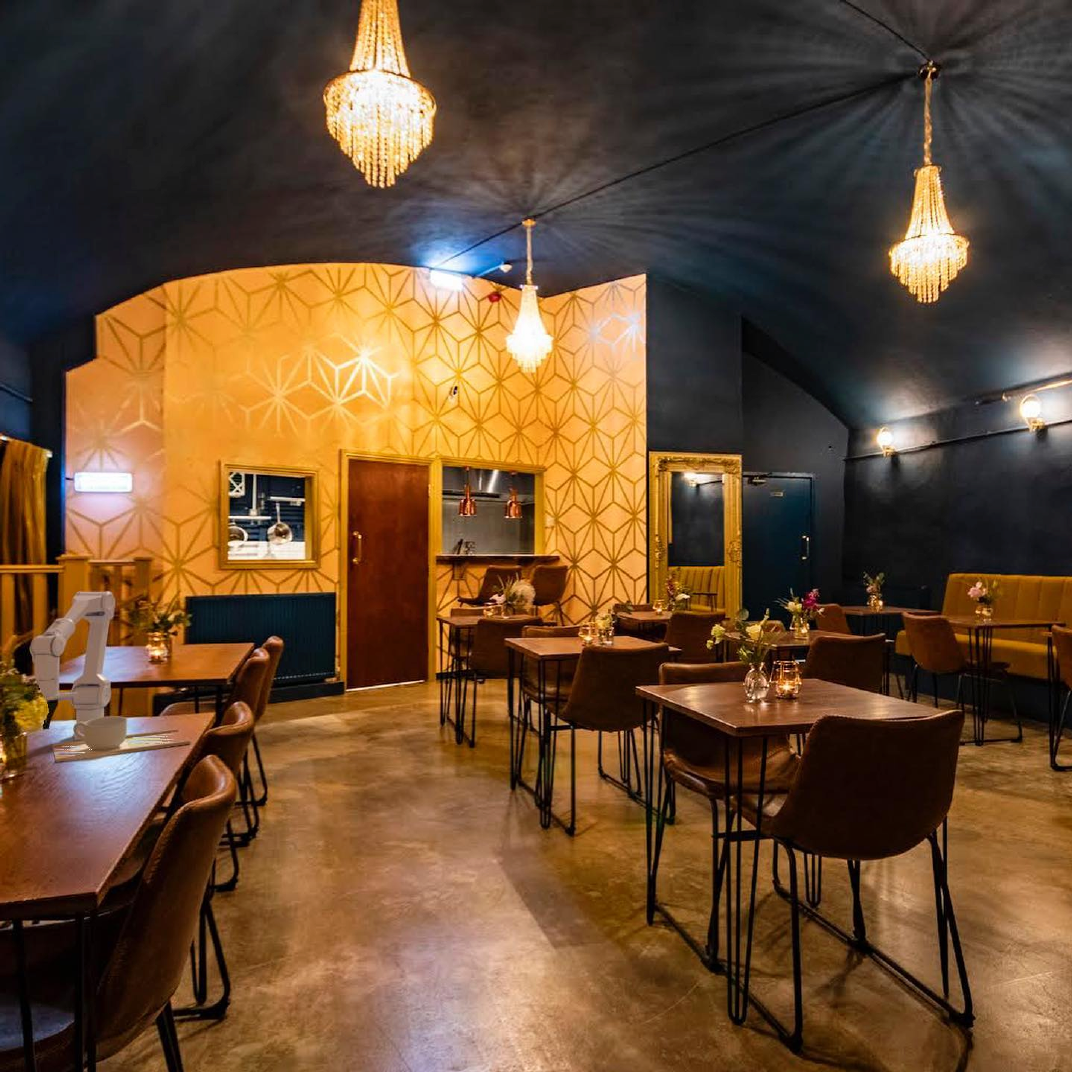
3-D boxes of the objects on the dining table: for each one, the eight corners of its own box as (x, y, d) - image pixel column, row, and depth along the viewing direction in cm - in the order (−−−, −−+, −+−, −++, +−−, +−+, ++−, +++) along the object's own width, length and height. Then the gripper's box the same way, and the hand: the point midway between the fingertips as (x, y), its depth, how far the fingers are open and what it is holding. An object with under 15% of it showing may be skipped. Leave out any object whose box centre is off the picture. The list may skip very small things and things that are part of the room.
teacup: (135, 743, 218) (135, 716, 219) (110, 753, 208) (110, 724, 208) (90, 742, 220) (90, 715, 220) (63, 752, 209) (63, 723, 209)
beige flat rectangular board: (52, 747, 215) (52, 744, 215) (177, 731, 234) (177, 728, 234) (56, 762, 200) (56, 758, 200) (190, 744, 219) (190, 740, 219)
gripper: (15, 683, 199) (14, 735, 199) (78, 678, 208) (77, 727, 207) (14, 680, 205) (13, 730, 204) (76, 675, 213) (75, 723, 213)
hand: (45, 728), depth 206 cm, fingers closed
